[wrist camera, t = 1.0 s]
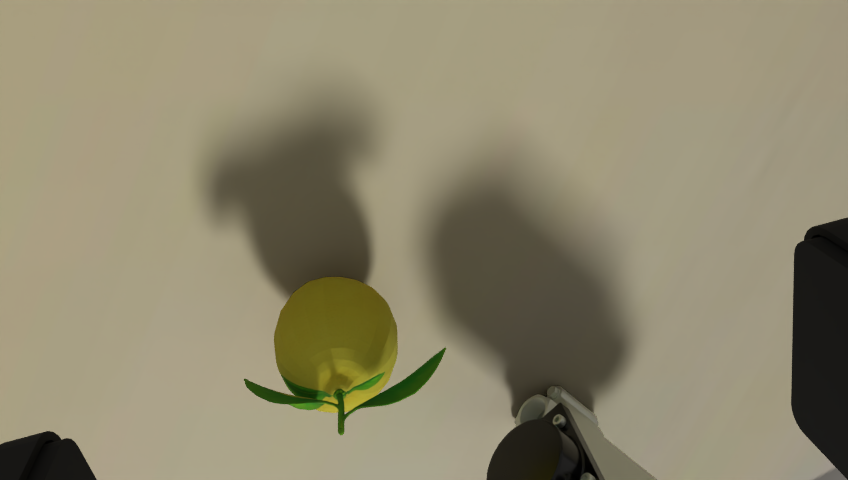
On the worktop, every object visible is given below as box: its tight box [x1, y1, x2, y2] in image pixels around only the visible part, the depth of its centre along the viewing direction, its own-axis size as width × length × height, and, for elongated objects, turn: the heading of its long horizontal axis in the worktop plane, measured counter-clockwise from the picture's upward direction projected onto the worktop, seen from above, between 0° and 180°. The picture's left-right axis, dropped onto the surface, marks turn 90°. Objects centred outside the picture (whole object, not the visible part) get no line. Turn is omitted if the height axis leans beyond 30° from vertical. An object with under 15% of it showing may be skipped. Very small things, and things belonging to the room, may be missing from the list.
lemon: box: [244, 277, 446, 435], centre depth 32 cm, size 7×6×10 cm
